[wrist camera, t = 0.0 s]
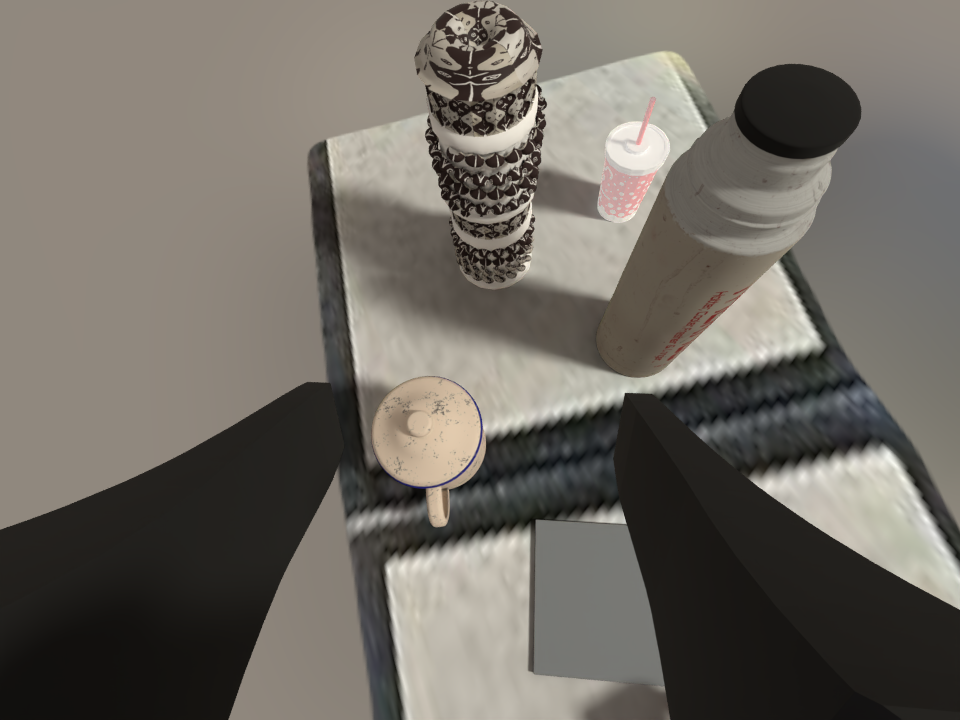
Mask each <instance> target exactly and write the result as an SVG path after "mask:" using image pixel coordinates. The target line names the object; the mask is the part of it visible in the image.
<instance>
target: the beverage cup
mask: <svg viewBox="0 0 960 720" xmlns="http://www.w3.org/2000/svg"><path fill="white" fill-rule="evenodd" d="M655 101H656V98H655V97H651V98H650V101H649V104H648V107H647V110H646V113H645V116H644V120H643V122H628V123H625V124H621V125H619V126H618V127H616V128H615V129H614V130H612V131H611V132H610V134H609V136H608V138H607V139H606V145H605V163H604V169H603V174H602V180H601V186H600V191H599V197H598V208H597V209H598V211H599V213H600V215H601V216H602V217H604V218H605V219H606V220H609V221H611V222H625V221H628V220H630V219H631V218H632V217H633V216H634V215H635V213H636V211H637V209H638V207H639V205H640V203H641V201H642V199H643V198H644V196H645V194H646V192H647V190H648V188H649V186H650V184H651V182H652V180H653V178H654V176H655V174H656V172H657V170H658V169H659V168H660V167H661V166H663V164H664V162H665V160H666V158H667V156H668V154H669V151H670V144H669V139H668V138H667V136H666V134H665V133H664V132H663V131H662V130H661V129H659V128H658V127H656V126H655V125H652V124H649V123H648V121H649V118H650V115H651V112H652V109H653V107H654V104H655Z"/></svg>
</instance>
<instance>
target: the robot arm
mask: <svg viewBox="0 0 960 720" xmlns="http://www.w3.org/2000/svg"><path fill="white" fill-rule="evenodd" d="M344 447H345V445H344V440H343V436H342V432H341V427H340V423H339V419H338V414H337V410H336V406H335V401H334V397H333V393H332V388H331V384H330V383H318V382H307V383H304V384H302V385H300V386H298V387H296V388H295V389H293V390H291V391H289V392H288V393H286V394H285V395H283V396H281V397H279V398H278V399H276V400H274V401H273V402H271V403H269V404H268V405H266V406H264V407H263V408H261V409H259V410H258V411H256V412H254V413H253V414H251V415H250V416H248V417H246V418H245V419H243V420H241V421H240V422H238V423H237V424H235V425H233V426H231V427H230V428H228V429H226V430H224V431H222V432H221V433H219V434H217V435H215V436H214V437H212V438H210V439H208V440H207V441H205V442H203V443H201V444H199V445H197V446H196V447H194V448H192V449H190V450H189V451H187V452H185V453H183V454H181V455H179V456H177V457H175V458H173V459H171V460H169V461H167V462H165V463H163V464H162V465H159V466H157V467H155V468H153V469H151V470H149V471H147V472H144V473H143V474H140V475H138V476H136V477H134V478H132V479H129V480H127V481H125V482H123V483H120V484H118V485H116V486H113V487H111V488H108V489H106V490H103V491H101V492H99V493H96V494H94V495H92V496H89V497H87V498H84V499H82V500H79V501H77V502H74V503H72V504H70V505H67V506H65V507H62V508H60V509H57V510H54V511H52V512H49V513H46V514H43V515H41V516H38V517H35V518H32V519H30V520H27V521H24V522H21V523H19V524H16V525H13V526H10V527H7V528H4V529H1V530H0V720H228V719H229V716H230V713H231V710H232V707H233V705H234V701H235V699H236V696H237V693H238V690H239V687H240V684H241V681H242V679H243V676H244V673H245V670H246V667H247V665H248V662H249V659H250V657H251V654H252V652H253V649H254V646H255V644H256V641H257V638H258V636H259V633H260V631H261V628H262V625H263V623H264V620H265V618H266V615H267V613H268V610H269V608H270V606H271V603H272V601H273V598H274V596H275V593H276V591H277V589H278V586H279V584H280V581H281V579H282V577H283V575H284V572H285V571H286V569H287V566H288V564H289V562H290V561H291V559H292V557H293V555H294V553H295V551H296V549H297V547H298V545H299V544H300V542H301V540H302V538H303V536H304V534H305V532H306V530H307V528H308V527H309V525H310V523H311V521H312V519H313V517H314V515H315V513H316V511H317V509H318V508H319V506H320V504H321V502H322V500H323V498H324V496H325V494H326V492H327V490H328V488H329V486H330V484H331V482H332V480H333V478H334V475H335V472H336V470H337V467H338V464H339V461H340V459H341V456H342V453H343V450H344ZM613 460H614V467H615V474H616V480H617V486H618V493H619V498H620V502H621V505H622V509H623V512H624V516H625V519H626V523H627V526H628V530H629V533H630V537H631V540H632V544H633V547H634V550H635V554H636V557H637V561H638V564H639V568H640V571H641V574H642V578H643V581H644V585H645V588H646V592H647V596H648V600H649V604H650V608H651V613H652V619H653V624H654V629H655V634H656V640H657V645H658V650H659V656H660V661H661V667H662V673H663V679H664V684H665V690H666V696H667V702H668V708H669V714H670V720H960V610H959V609H957V608H955V607H953V606H952V605H950V604H948V603H946V602H944V601H942V600H940V599H938V598H937V597H935V596H933V595H931V594H929V593H927V592H925V591H924V590H922V589H920V588H918V587H916V586H914V585H912V584H910V583H909V582H907V581H905V580H903V579H901V578H900V577H898V576H896V575H894V574H893V573H891V572H889V571H887V570H886V569H884V568H882V567H880V566H879V565H877V564H875V563H873V562H872V561H870V560H868V559H867V558H865V557H863V556H862V555H860V554H858V553H857V552H855V551H853V550H852V549H850V548H849V547H847V546H845V545H844V544H842V543H840V542H839V541H837V540H835V539H834V538H832V537H830V536H829V535H827V534H826V533H824V532H823V531H821V530H820V529H818V528H816V527H815V526H813V525H812V524H810V523H809V522H807V521H806V520H804V519H803V518H801V517H800V516H799V515H797V514H796V513H794V512H793V511H791V510H790V509H788V508H787V507H786V506H784V505H783V504H781V503H780V502H778V501H777V500H776V499H774V498H773V497H771V496H770V495H769V494H767V493H766V492H765V491H763V490H762V489H761V488H759V487H758V486H757V485H755V484H754V483H753V482H751V481H750V480H749V479H748V478H746V477H745V476H744V475H743V474H741V473H740V472H739V471H738V470H736V469H735V468H734V467H733V466H731V465H730V464H729V463H728V462H727V461H725V460H724V459H723V458H722V457H721V456H719V455H718V454H717V453H716V452H715V451H714V450H712V449H711V448H710V447H709V446H708V445H707V444H706V443H705V442H703V441H702V440H701V439H700V438H699V437H698V436H697V435H696V434H695V433H693V432H692V431H691V430H690V429H689V428H688V427H687V426H686V425H685V424H684V423H683V422H682V421H681V420H679V419H678V418H677V417H676V416H675V415H674V414H673V413H672V412H671V411H670V410H669V409H668V408H667V407H666V406H665V405H664V404H662V403H661V402H660V401H659V400H658V399H657V398H656V397H655V396H654V395H652V394H640V393H625V396H624V402H623V407H622V413H621V418H620V424H619V430H618V435H617V441H616V447H615V452H614V458H613Z"/></svg>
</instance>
